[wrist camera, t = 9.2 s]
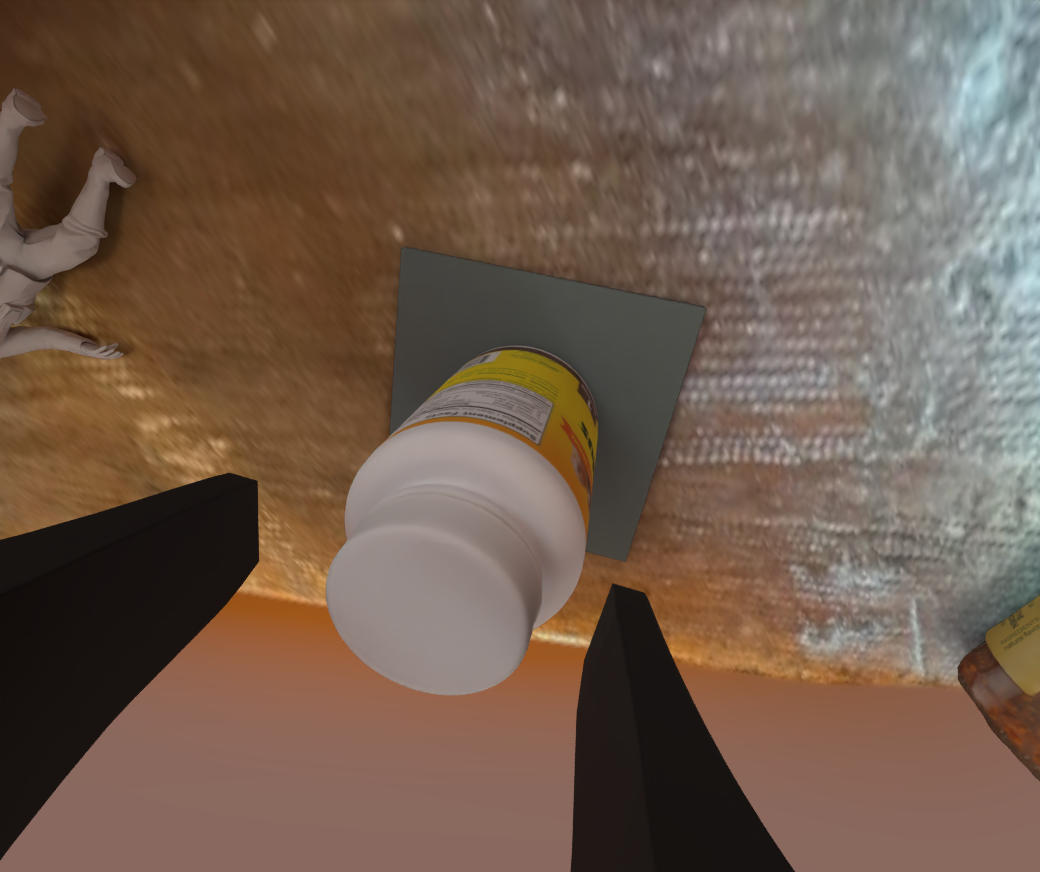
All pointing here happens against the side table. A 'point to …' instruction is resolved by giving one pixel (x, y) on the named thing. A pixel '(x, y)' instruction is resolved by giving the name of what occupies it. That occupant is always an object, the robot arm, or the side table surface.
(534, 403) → the supplement bottle
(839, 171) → the side table surface
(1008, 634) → the sauce bottle
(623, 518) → the mat
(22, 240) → the soldier figure
